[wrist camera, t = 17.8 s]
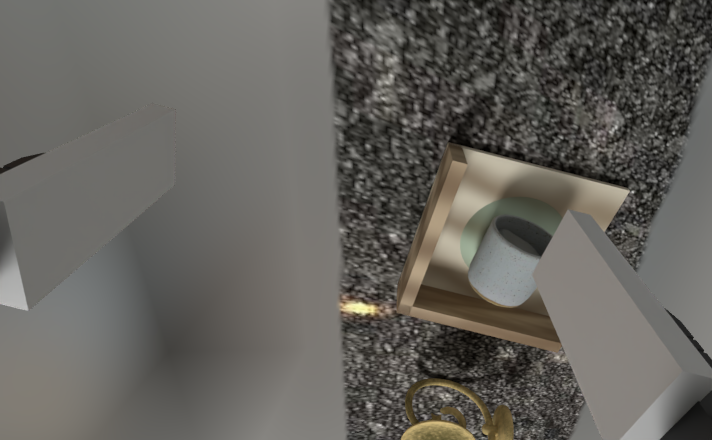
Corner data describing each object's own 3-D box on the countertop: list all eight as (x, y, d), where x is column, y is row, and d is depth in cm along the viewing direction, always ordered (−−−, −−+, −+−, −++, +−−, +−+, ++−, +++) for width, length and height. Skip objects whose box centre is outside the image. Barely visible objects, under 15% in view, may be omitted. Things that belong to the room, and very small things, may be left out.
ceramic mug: (459, 263, 51) (468, 305, 45) (487, 206, 47) (501, 243, 41) (541, 285, 52) (562, 330, 45) (575, 231, 48) (603, 271, 41)
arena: (447, 141, 45) (452, 160, 40) (626, 187, 46) (652, 211, 41) (397, 284, 55) (396, 312, 50) (544, 320, 56) (557, 352, 51)
